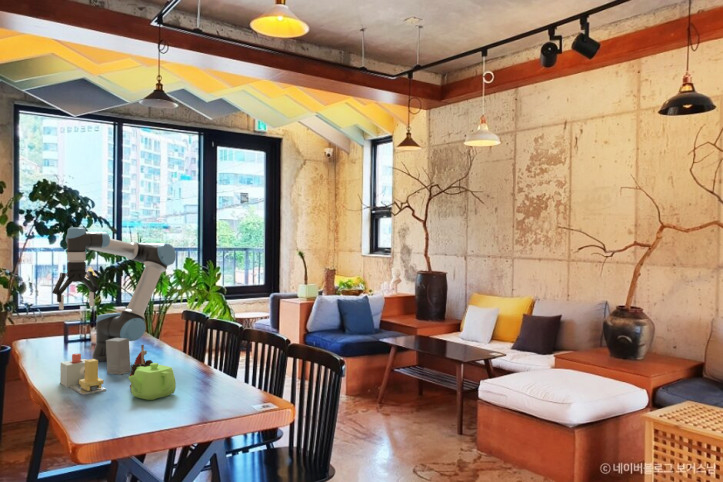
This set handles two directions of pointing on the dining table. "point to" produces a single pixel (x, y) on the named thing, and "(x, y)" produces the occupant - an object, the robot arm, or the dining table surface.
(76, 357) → the button
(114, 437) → the dining table surface
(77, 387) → the rail base
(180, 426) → the dining table surface
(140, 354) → the red brown figurine
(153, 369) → the teapot
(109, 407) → the dining table surface
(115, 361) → the skincare box
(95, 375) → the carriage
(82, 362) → the cabinet
